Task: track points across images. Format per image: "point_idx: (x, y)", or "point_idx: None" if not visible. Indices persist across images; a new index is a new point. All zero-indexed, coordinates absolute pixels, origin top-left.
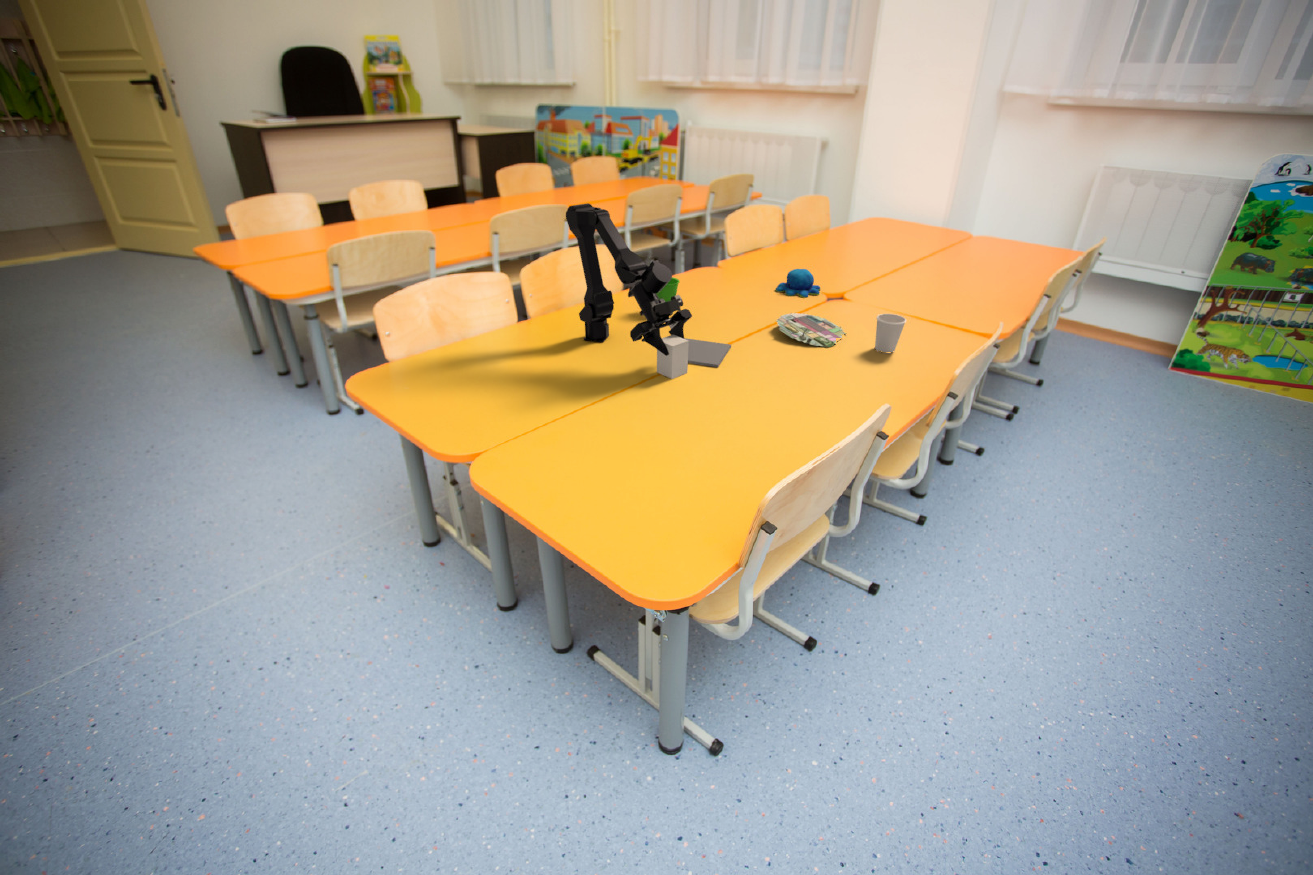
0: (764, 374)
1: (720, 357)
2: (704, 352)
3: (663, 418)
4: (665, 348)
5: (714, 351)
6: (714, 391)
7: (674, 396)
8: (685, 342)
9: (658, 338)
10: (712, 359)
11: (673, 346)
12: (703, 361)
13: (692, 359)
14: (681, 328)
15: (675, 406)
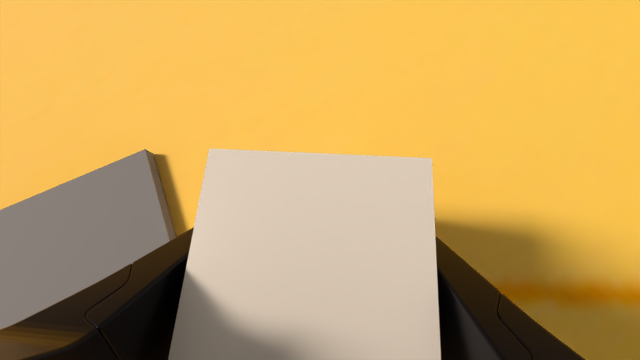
0: (114, 18)
1: (67, 191)
2: (48, 287)
3: (620, 23)
4: (438, 247)
5: (14, 257)
6: (335, 40)
7: (479, 101)
8: (254, 152)
9: (562, 356)
10: (106, 203)
11: (416, 160)
12: (149, 217)
13: None
14: (32, 333)
15: (528, 51)
